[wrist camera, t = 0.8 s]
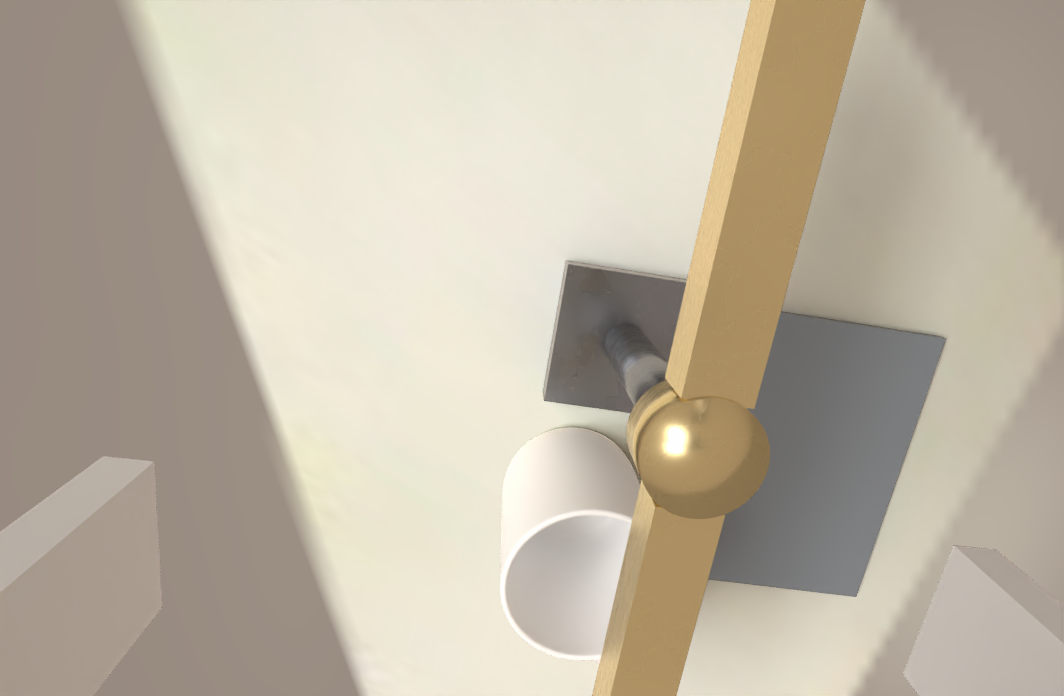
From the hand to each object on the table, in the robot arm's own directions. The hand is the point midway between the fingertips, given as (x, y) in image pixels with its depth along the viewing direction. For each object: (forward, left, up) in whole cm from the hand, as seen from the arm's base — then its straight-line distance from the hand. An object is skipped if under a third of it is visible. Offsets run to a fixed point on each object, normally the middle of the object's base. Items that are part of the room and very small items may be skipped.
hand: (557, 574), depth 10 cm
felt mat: (+8, +18, -26) cm, 33 cm away
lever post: (+2, +6, -26) cm, 27 cm away
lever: (+1, +6, -12) cm, 14 cm away
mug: (+13, +5, -26) cm, 30 cm away
